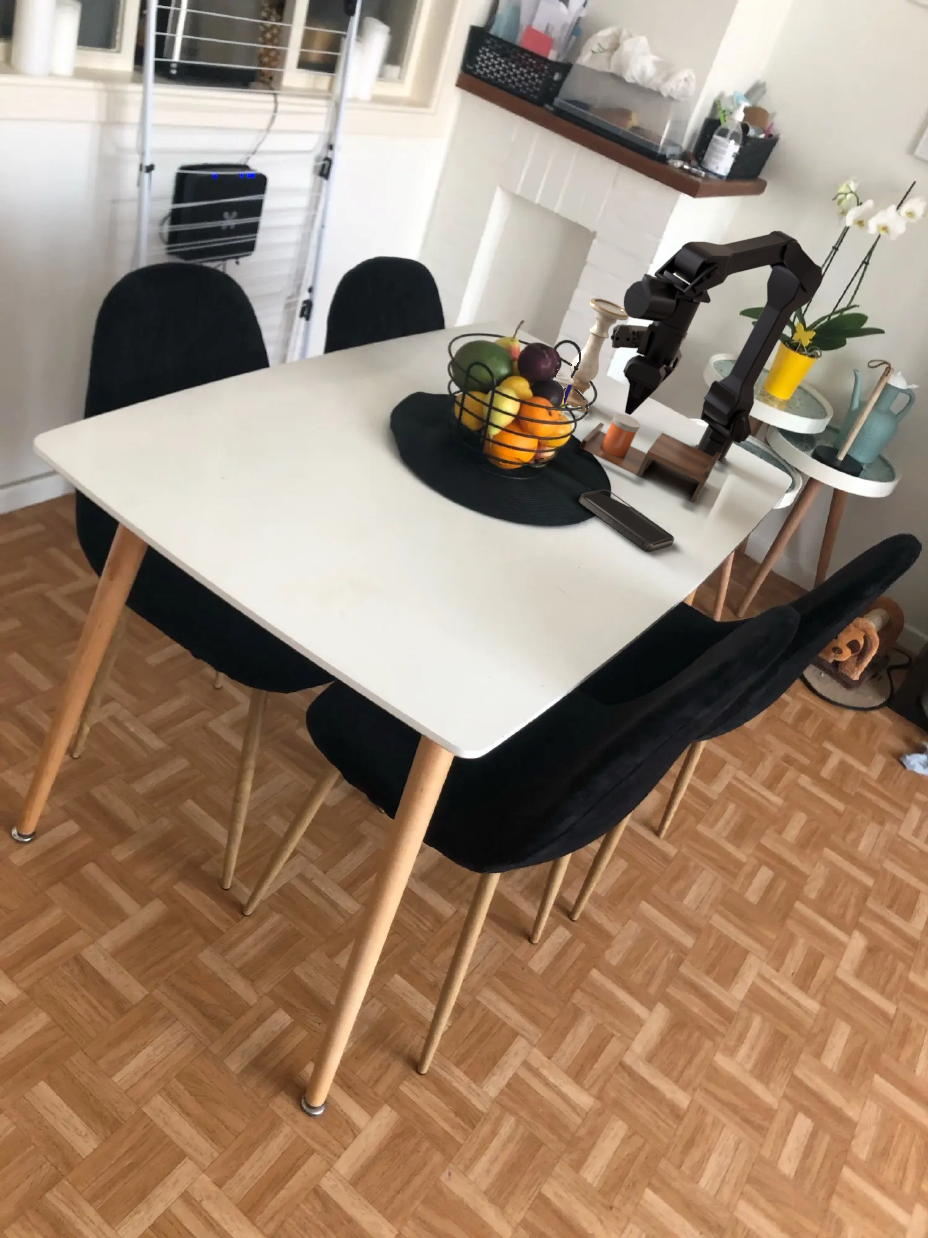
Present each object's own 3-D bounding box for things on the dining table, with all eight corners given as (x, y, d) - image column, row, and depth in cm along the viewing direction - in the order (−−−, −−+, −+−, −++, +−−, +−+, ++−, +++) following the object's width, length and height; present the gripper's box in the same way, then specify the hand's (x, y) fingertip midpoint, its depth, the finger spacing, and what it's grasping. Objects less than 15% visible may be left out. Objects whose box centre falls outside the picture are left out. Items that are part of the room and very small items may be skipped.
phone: (650, 546, 152) (578, 493, 159) (647, 552, 152) (576, 499, 159) (677, 538, 157) (607, 488, 164) (674, 544, 158) (604, 494, 165)
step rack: (594, 435, 186) (610, 400, 182) (703, 487, 182) (721, 453, 179) (576, 452, 176) (592, 416, 172) (691, 509, 172) (710, 472, 169)
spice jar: (604, 440, 182) (618, 410, 179) (629, 452, 181) (643, 422, 178) (597, 447, 178) (611, 417, 175) (622, 460, 177) (636, 429, 174)
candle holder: (541, 402, 191) (582, 300, 180) (554, 391, 198) (594, 292, 187) (583, 421, 190) (626, 320, 179) (594, 410, 197) (637, 312, 186)
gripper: (640, 294, 176) (605, 376, 184) (614, 311, 160) (577, 399, 169) (698, 320, 174) (660, 402, 182) (678, 340, 159) (637, 428, 167)
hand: (633, 407), depth 175 cm, fingers open, 9 cm apart
